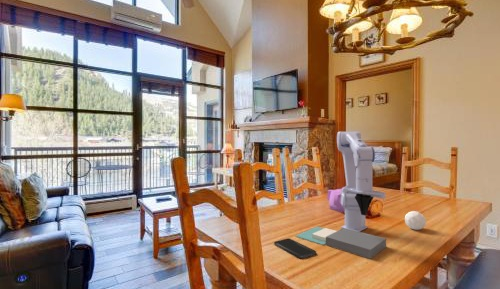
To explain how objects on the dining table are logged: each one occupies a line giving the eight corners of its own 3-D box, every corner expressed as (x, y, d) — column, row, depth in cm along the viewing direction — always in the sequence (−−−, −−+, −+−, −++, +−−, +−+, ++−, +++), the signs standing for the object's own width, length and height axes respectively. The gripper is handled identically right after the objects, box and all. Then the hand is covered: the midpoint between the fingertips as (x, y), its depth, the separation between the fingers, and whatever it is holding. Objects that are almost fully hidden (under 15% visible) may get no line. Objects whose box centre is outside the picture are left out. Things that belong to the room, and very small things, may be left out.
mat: (316, 227, 115) (316, 226, 115) (343, 234, 106) (343, 233, 106) (295, 236, 104) (295, 235, 104) (323, 245, 95) (323, 244, 95)
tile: (325, 231, 109) (325, 227, 109) (341, 235, 104) (341, 232, 104) (311, 237, 102) (311, 233, 102) (328, 242, 97) (328, 238, 97)
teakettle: (325, 205, 154) (325, 185, 153) (354, 205, 153) (354, 185, 153) (334, 213, 137) (334, 190, 136) (366, 213, 136) (366, 190, 136)
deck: (343, 235, 105) (343, 227, 105) (386, 246, 93) (386, 238, 93) (325, 244, 95) (325, 236, 95) (370, 259, 84) (370, 249, 84)
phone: (300, 257, 84) (272, 242, 96) (300, 260, 84) (272, 245, 96) (318, 251, 88) (289, 237, 100) (318, 255, 88) (289, 240, 100)
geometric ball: (409, 235, 112) (397, 218, 116) (422, 226, 115) (409, 210, 118) (421, 231, 106) (407, 214, 109) (434, 222, 108) (420, 205, 111)
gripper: (340, 177, 100) (340, 212, 100) (380, 181, 90) (380, 221, 90) (349, 176, 105) (349, 209, 105) (387, 179, 94) (387, 216, 95)
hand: (364, 214), depth 98 cm, fingers closed
